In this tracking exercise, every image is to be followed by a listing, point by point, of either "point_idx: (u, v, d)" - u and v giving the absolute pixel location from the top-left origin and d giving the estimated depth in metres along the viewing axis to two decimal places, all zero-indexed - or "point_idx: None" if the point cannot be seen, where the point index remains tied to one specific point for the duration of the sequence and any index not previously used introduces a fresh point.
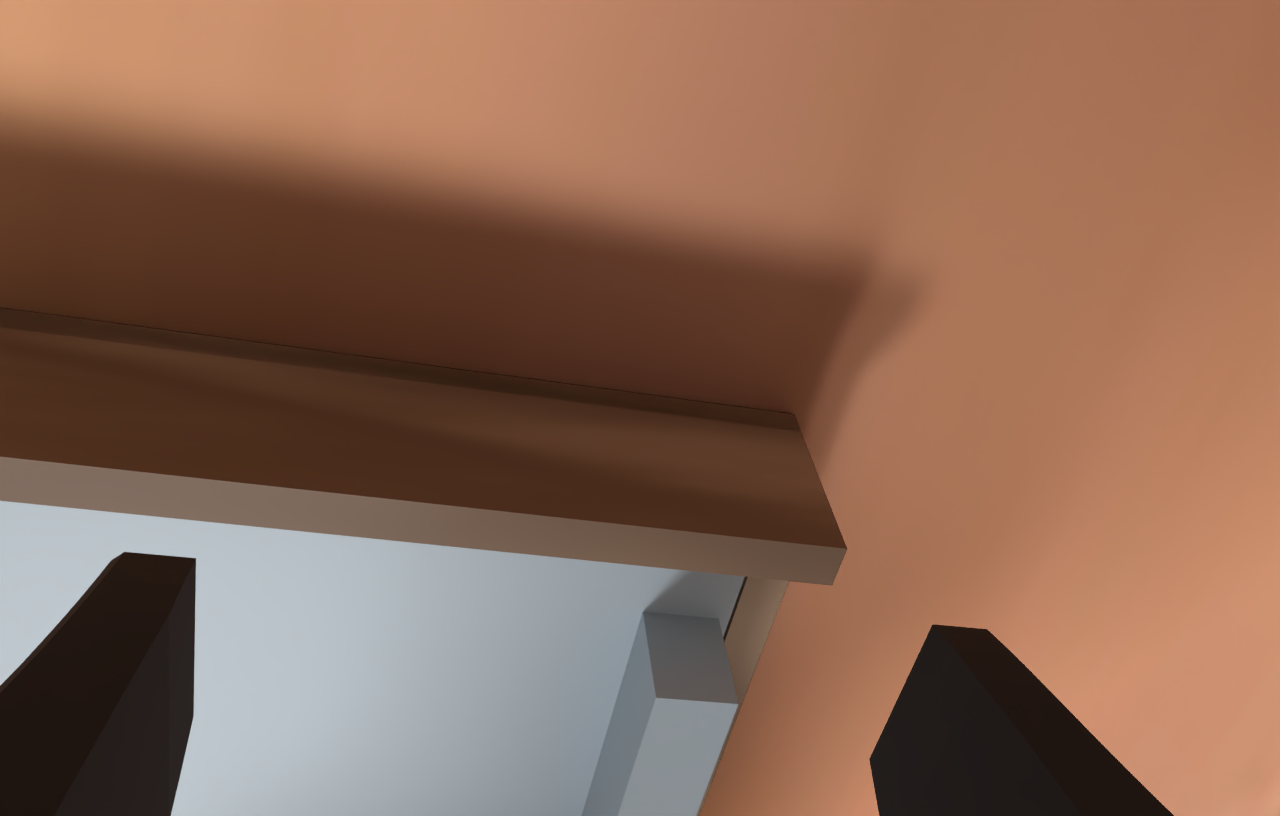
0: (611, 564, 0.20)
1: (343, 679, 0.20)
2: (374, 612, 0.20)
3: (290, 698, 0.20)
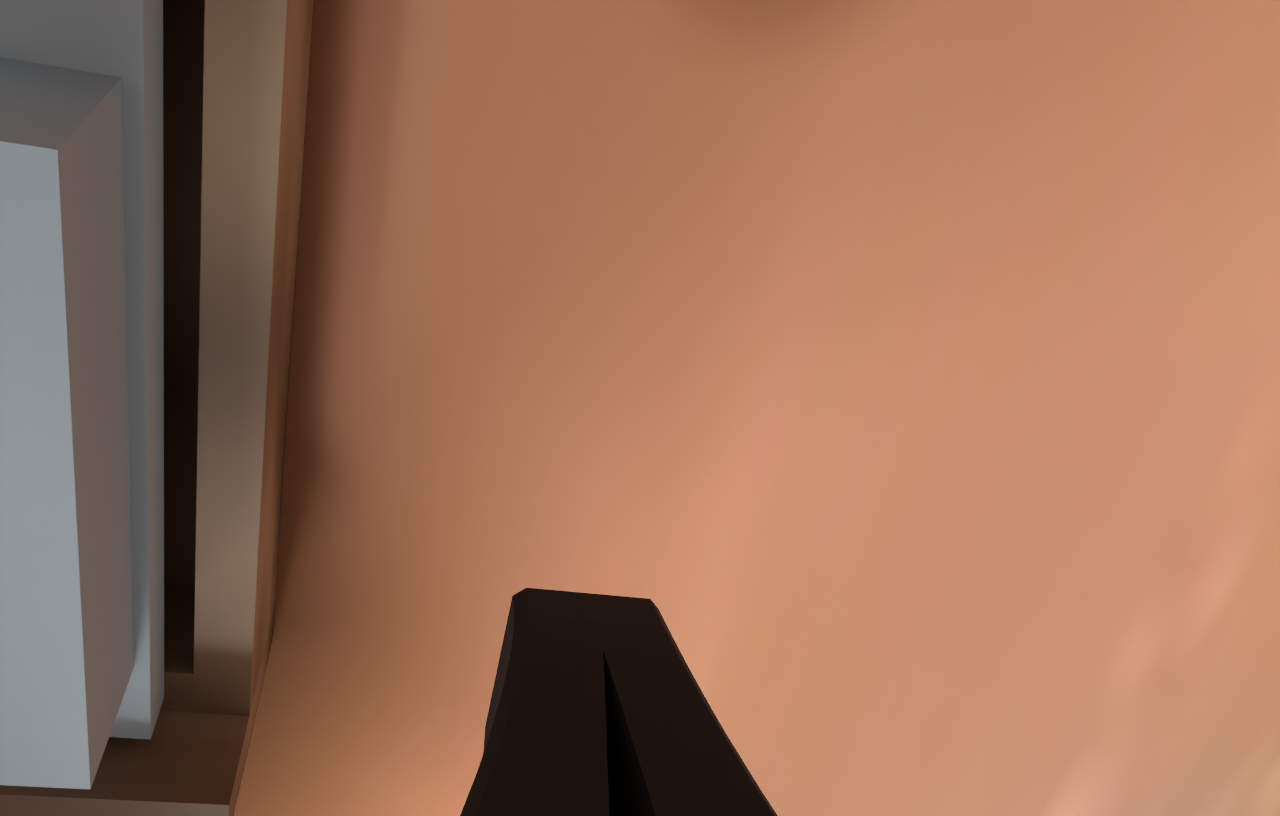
0: None
1: None
2: None
3: None
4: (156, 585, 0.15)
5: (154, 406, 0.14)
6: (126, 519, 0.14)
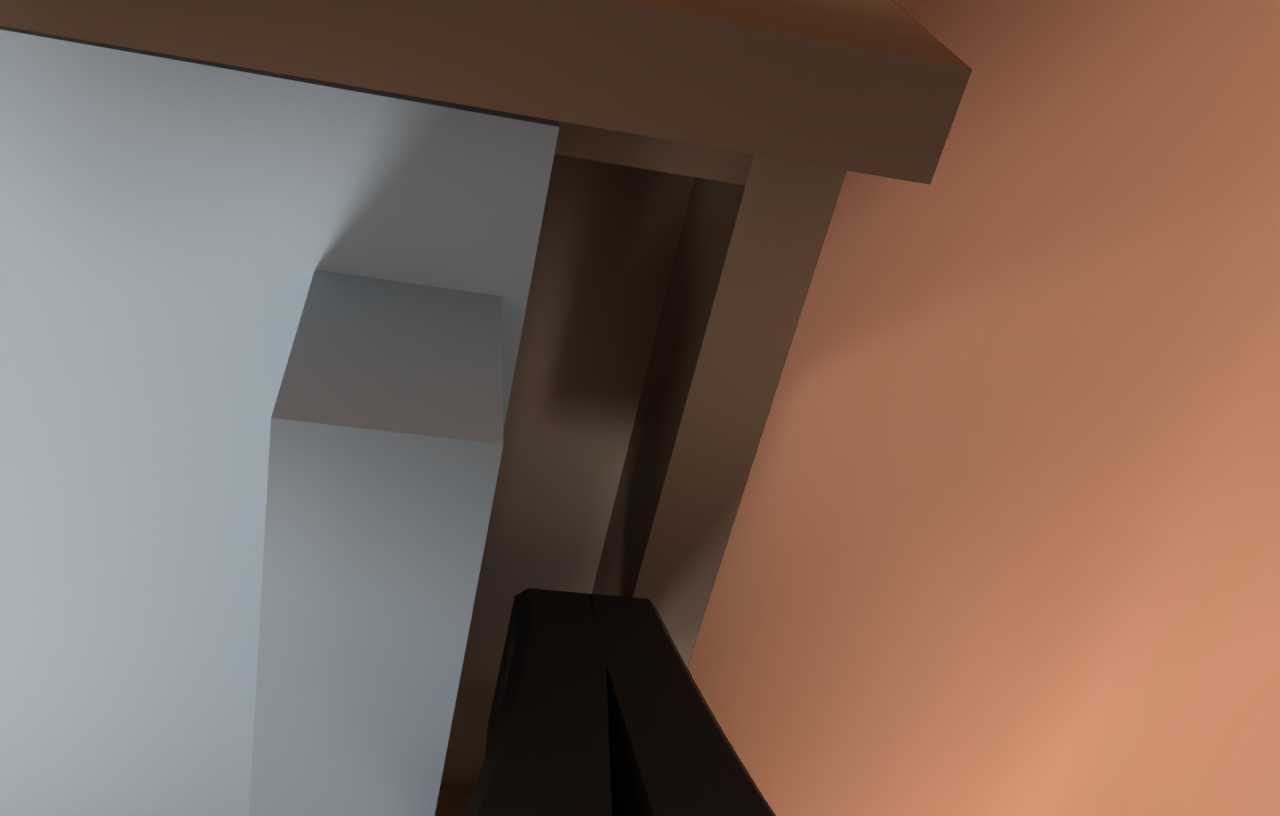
0: (209, 124, 0.08)
1: None
2: None
3: None
4: None
5: None
6: None
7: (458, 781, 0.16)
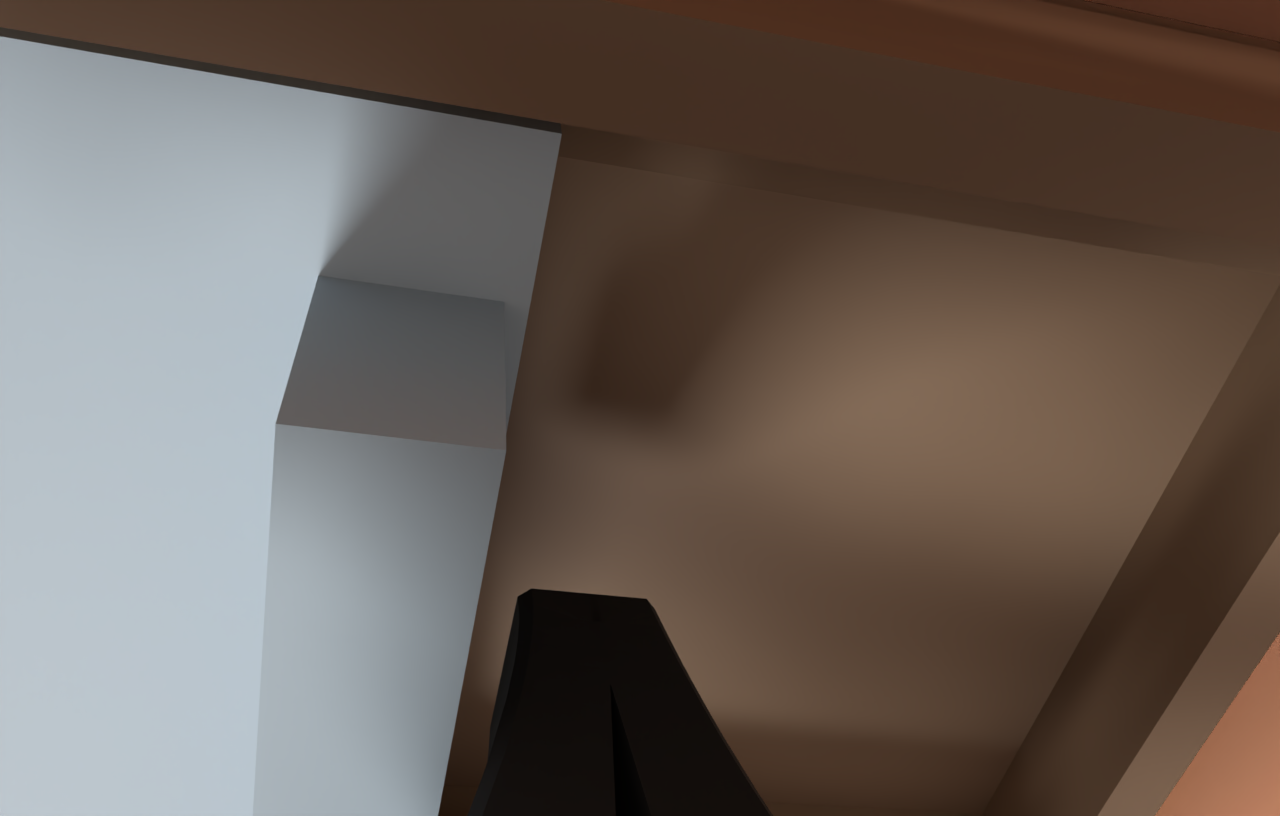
0: (213, 131, 0.08)
1: None
2: None
3: None
4: None
5: None
6: None
7: (913, 806, 0.17)
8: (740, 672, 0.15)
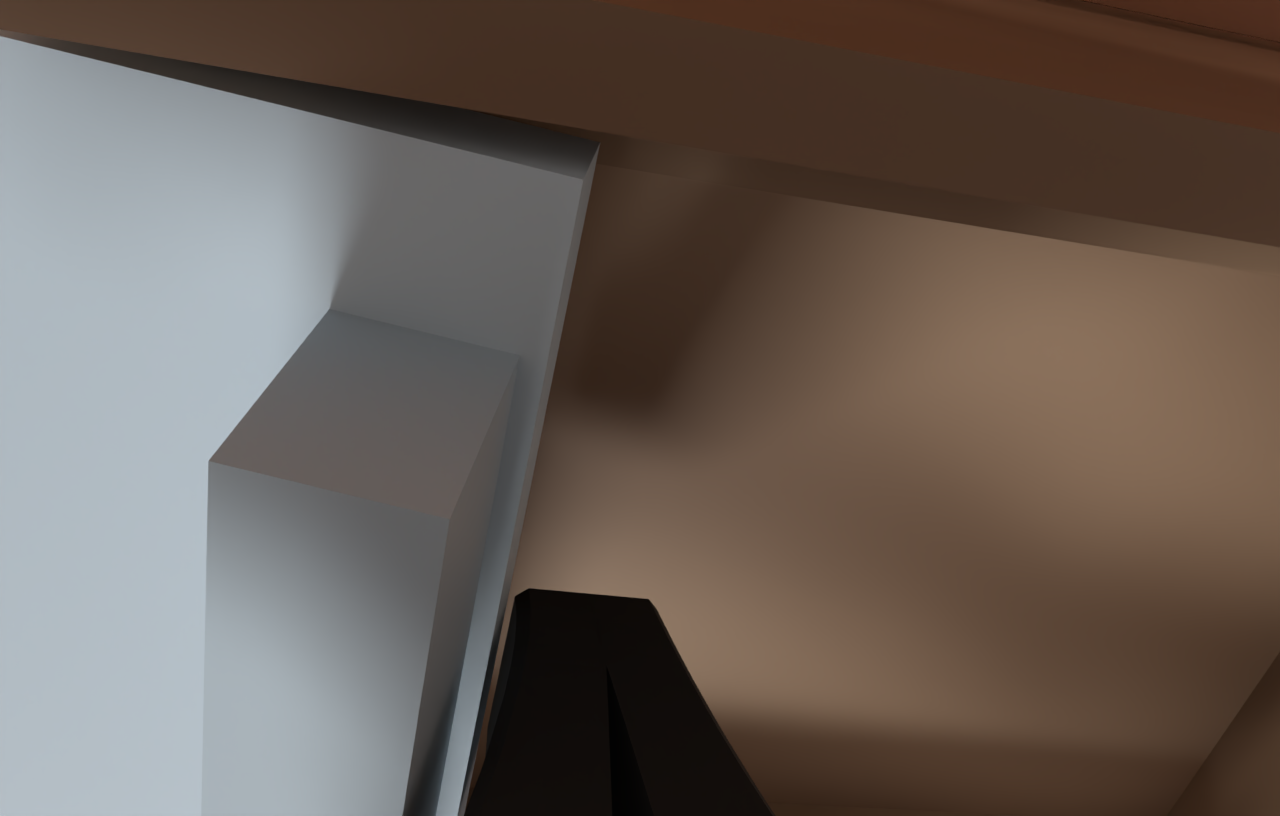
0: (228, 152, 0.08)
1: None
2: None
3: None
4: None
5: (480, 718, 0.11)
6: None
7: (1098, 815, 0.18)
8: (954, 688, 0.16)
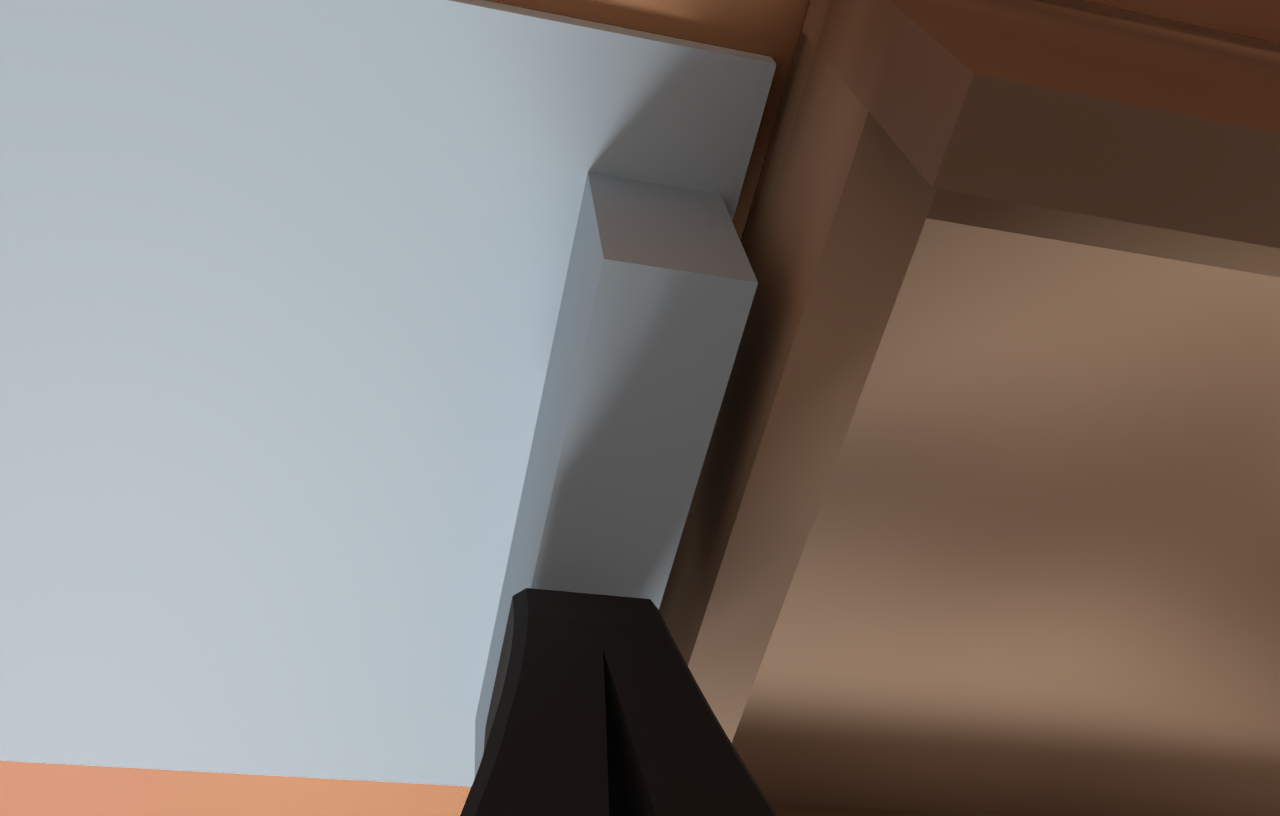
0: (527, 60, 0.11)
1: (68, 295, 0.12)
2: (101, 150, 0.11)
3: None
4: None
5: None
6: None
7: None
8: None
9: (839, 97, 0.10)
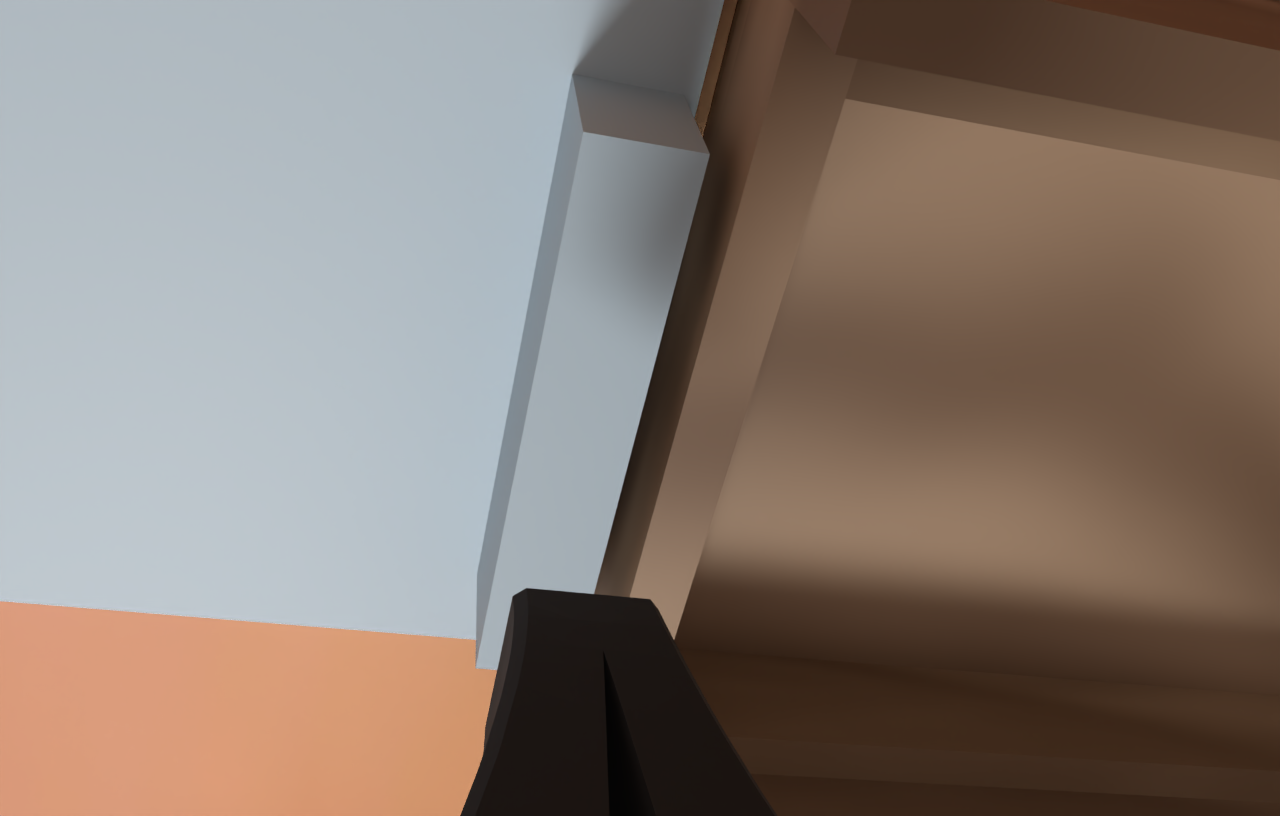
0: None
1: (136, 178, 0.14)
2: (168, 50, 0.13)
3: (61, 211, 0.14)
4: None
5: None
6: None
7: None
8: (1232, 581, 0.19)
9: (775, 1, 0.12)
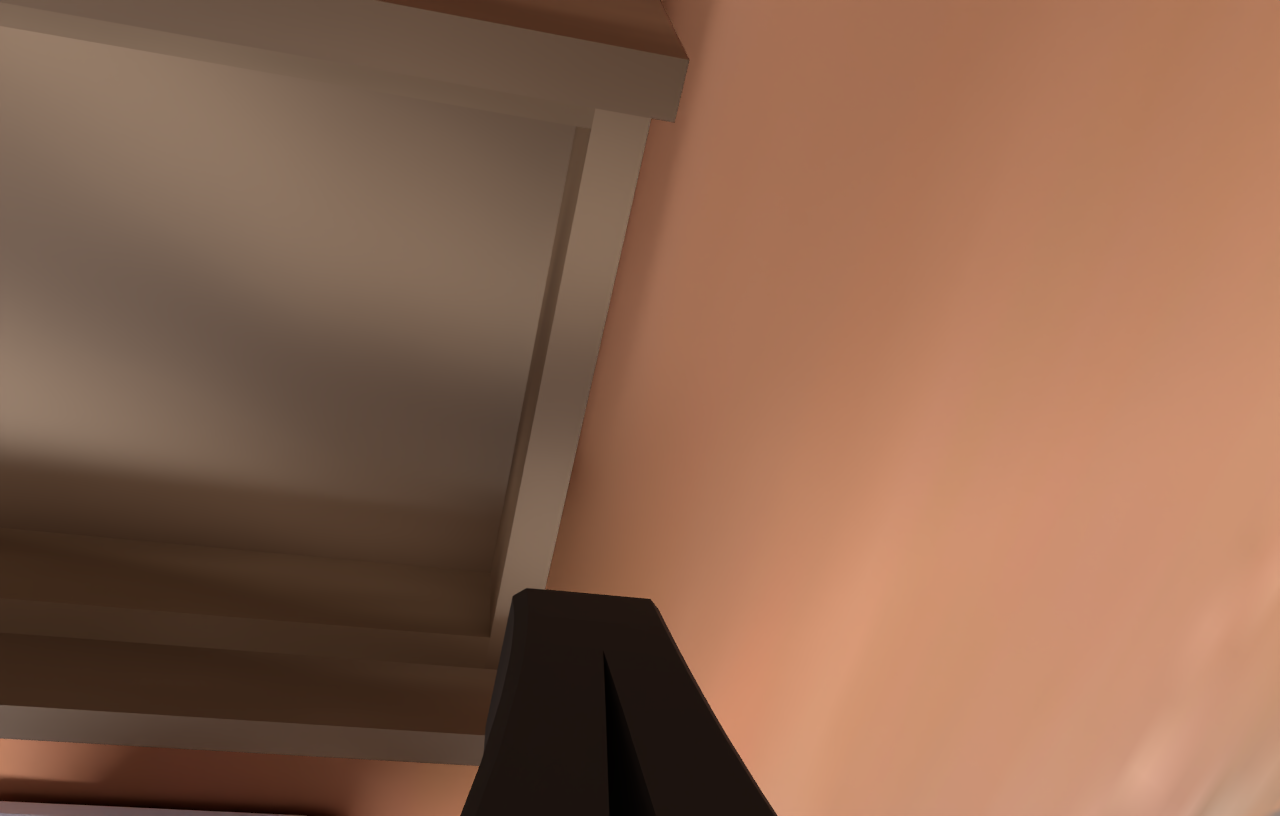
0: None
1: None
2: None
3: None
4: None
5: None
6: None
7: (430, 563, 0.22)
8: (256, 441, 0.20)
9: None
